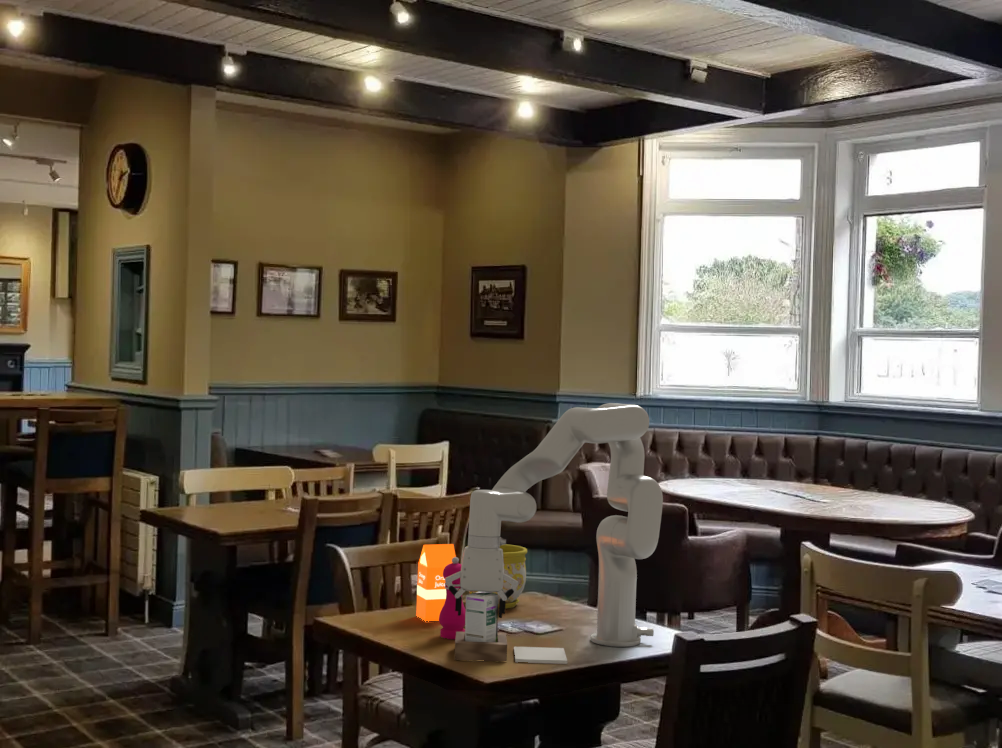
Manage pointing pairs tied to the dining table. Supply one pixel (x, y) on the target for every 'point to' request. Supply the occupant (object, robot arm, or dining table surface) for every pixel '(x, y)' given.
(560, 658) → the plate
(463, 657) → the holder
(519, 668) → the dining table surface
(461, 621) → the pepper mill
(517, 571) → the flowerpot
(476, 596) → the syrup box
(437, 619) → the orange juice
